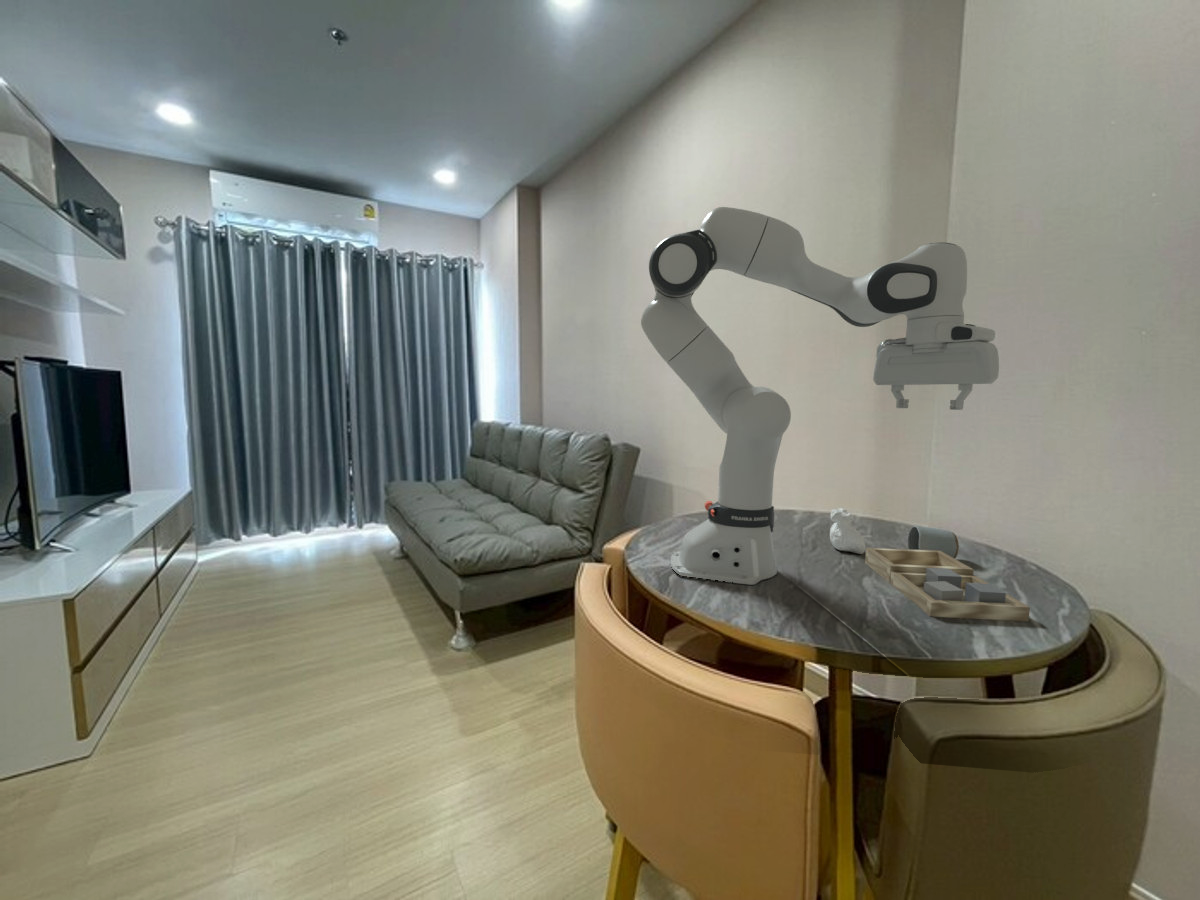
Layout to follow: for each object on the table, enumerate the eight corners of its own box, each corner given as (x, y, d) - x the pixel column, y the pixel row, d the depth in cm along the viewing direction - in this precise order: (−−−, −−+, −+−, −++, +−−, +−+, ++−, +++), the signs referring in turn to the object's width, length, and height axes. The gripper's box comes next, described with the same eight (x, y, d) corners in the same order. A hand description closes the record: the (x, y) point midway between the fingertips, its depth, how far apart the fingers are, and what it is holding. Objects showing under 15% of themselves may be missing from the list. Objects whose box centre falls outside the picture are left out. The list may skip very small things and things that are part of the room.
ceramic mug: (959, 567, 107) (962, 532, 106) (917, 563, 109) (920, 530, 108) (938, 552, 117) (941, 521, 116) (900, 549, 119) (903, 518, 118)
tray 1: (889, 585, 96) (890, 566, 96) (864, 565, 107) (866, 547, 107) (971, 589, 95) (973, 569, 94) (938, 568, 106) (940, 550, 105)
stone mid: (936, 596, 90) (938, 575, 89) (924, 587, 94) (926, 567, 93) (959, 597, 89) (961, 576, 89) (946, 588, 93) (948, 568, 93)
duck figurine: (831, 550, 124) (806, 516, 123) (855, 532, 124) (831, 498, 123) (856, 567, 113) (829, 529, 111) (883, 547, 112) (856, 509, 111)
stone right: (977, 614, 83) (979, 591, 82) (963, 603, 87) (965, 582, 86) (1003, 615, 82) (1006, 593, 82) (988, 605, 86) (990, 583, 86)
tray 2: (929, 619, 82) (931, 602, 82) (889, 586, 96) (890, 571, 96) (1028, 624, 80) (1030, 607, 80) (972, 589, 94) (974, 575, 94)
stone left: (939, 613, 83) (941, 591, 83) (922, 603, 87) (924, 581, 86) (961, 612, 83) (963, 590, 83) (943, 602, 87) (945, 581, 87)
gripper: (869, 339, 98) (865, 407, 100) (990, 328, 81) (983, 411, 83) (886, 341, 102) (881, 407, 103) (1006, 330, 84) (999, 410, 86)
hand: (928, 409), depth 93 cm, fingers open, 8 cm apart
